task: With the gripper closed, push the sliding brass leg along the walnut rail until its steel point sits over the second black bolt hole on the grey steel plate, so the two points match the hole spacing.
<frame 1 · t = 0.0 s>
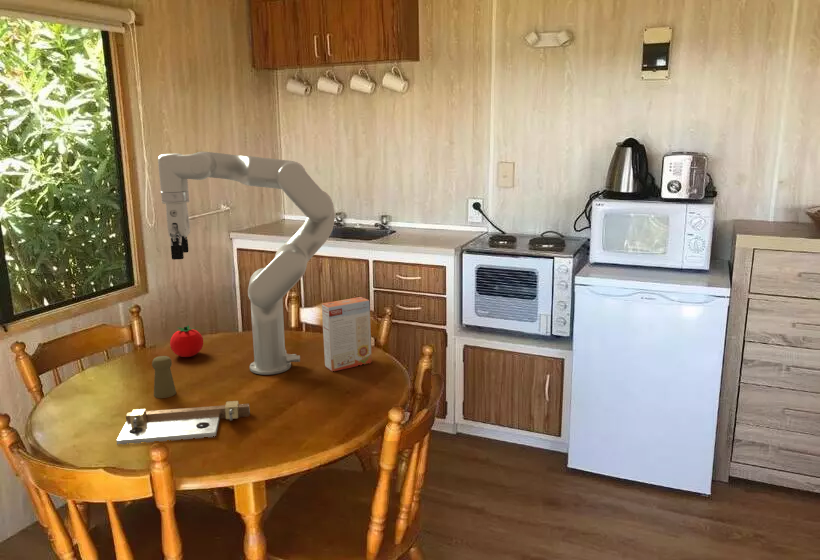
hand: (180, 255, 200), 37 cm above the table, tool pointing down, fingers open, 9 cm apart
cracker box: (348, 365, 215), on the table
hole plate: (171, 428, 173), on the table
salt shaker: (165, 394, 194), on the table
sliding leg: (231, 411, 175), point 3 cm above the table, slide at 0.0 cm
tomato: (188, 356, 224), on the table
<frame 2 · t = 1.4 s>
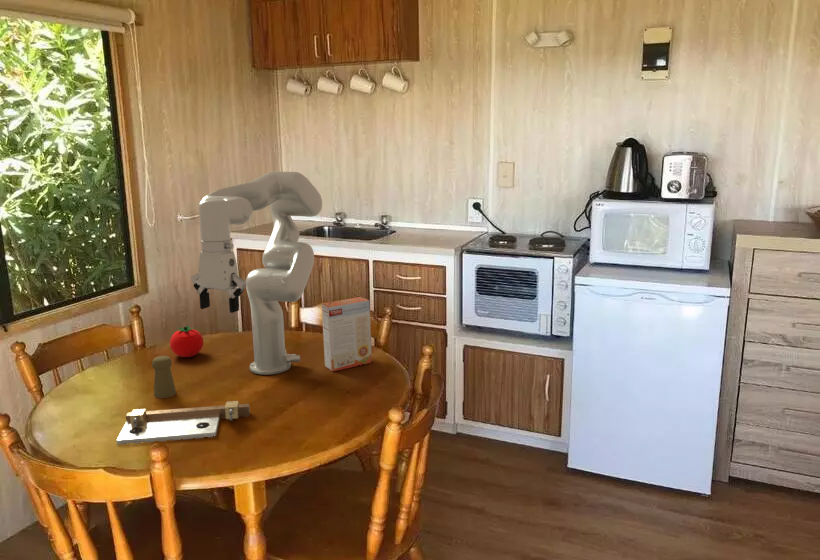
hand: (219, 309, 183), 26 cm above the table, tool pointing down, fingers open, 9 cm apart
nothing on the table moved.
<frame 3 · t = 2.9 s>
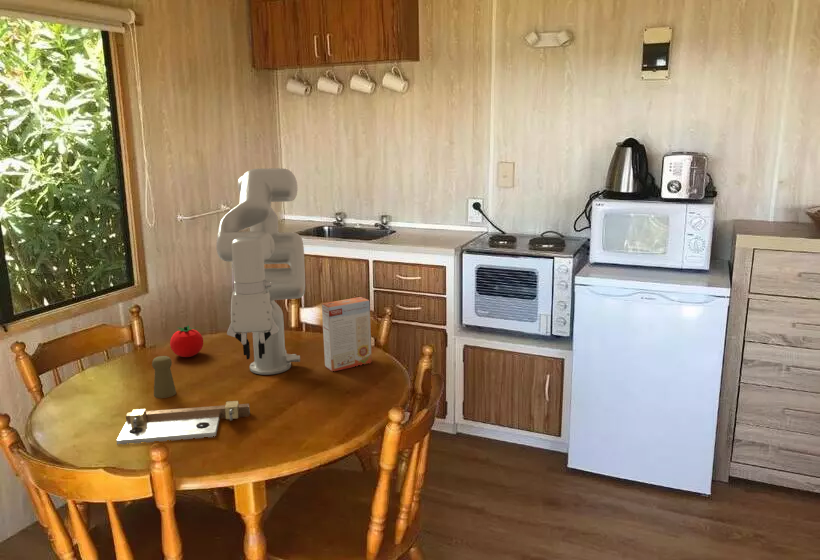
hand: (254, 356, 174), 17 cm above the table, tool pointing down, fingers closed
nothing on the table moved.
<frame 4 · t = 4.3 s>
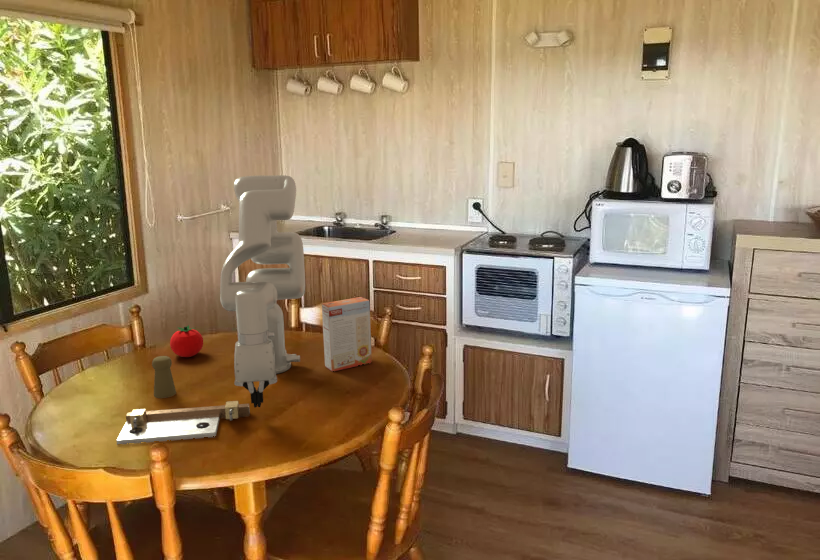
hand: (257, 405, 176), 4 cm above the table, tool pointing down, fingers closed
nothing on the table moved.
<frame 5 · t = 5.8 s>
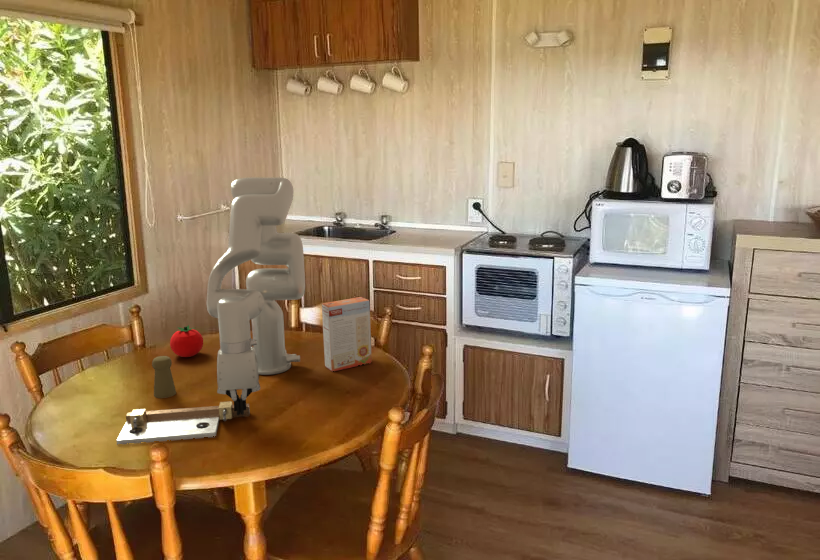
hand: (240, 412, 176), 2 cm above the table, tool pointing down, fingers closed
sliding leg: (225, 412, 174), point 3 cm above the table, slide at 1.6 cm, touching gripper
everything else where it was.
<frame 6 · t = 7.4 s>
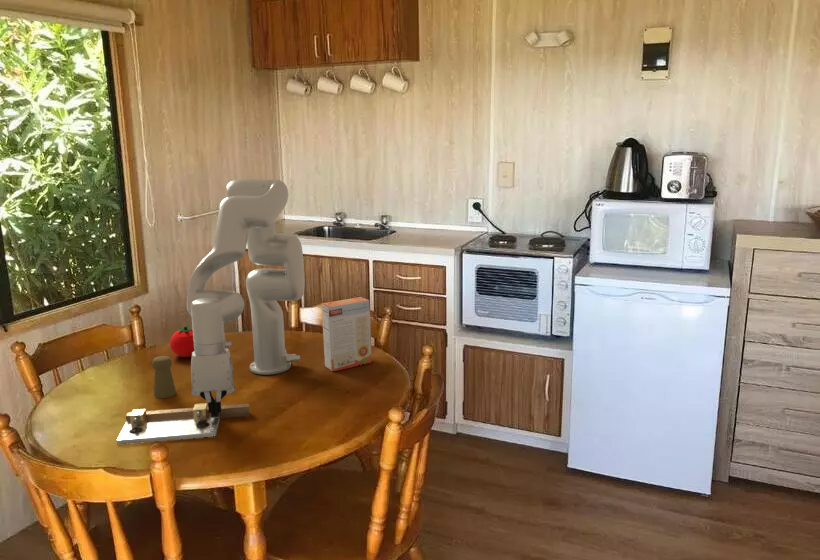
hand: (215, 414, 175), 2 cm above the table, tool pointing down, fingers closed
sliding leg: (199, 414, 173), point 3 cm above the table, slide at 7.9 cm, touching gripper
everything else where it was.
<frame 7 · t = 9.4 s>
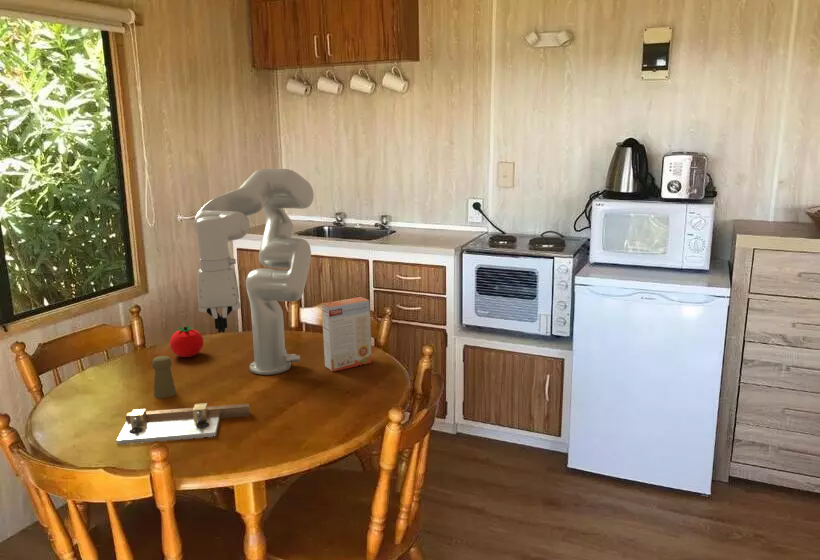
hand: (221, 330, 182), 21 cm above the table, tool pointing down, fingers closed
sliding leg: (199, 414, 173), point 3 cm above the table, slide at 7.9 cm
everything else where it was.
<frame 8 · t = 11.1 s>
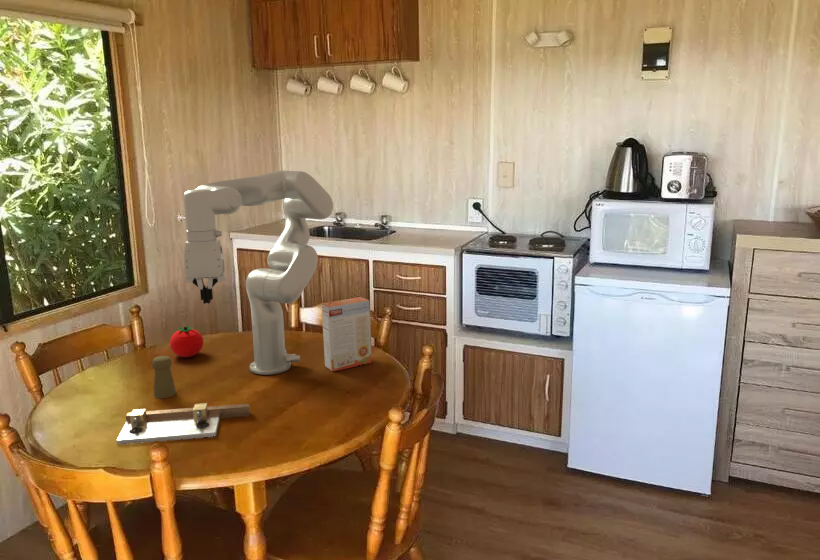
hand: (207, 302, 187), 27 cm above the table, tool pointing down, fingers closed
nothing on the table moved.
at the end: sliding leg slide at 7.9 cm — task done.
